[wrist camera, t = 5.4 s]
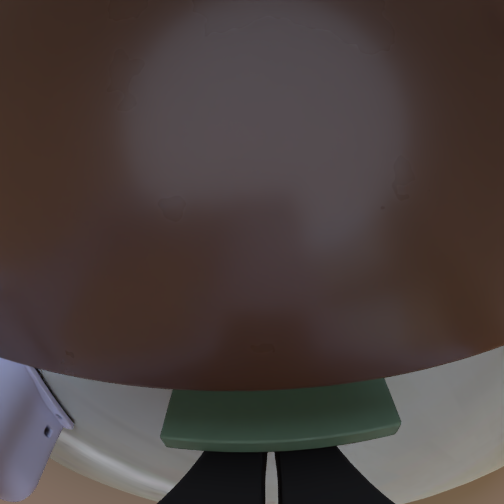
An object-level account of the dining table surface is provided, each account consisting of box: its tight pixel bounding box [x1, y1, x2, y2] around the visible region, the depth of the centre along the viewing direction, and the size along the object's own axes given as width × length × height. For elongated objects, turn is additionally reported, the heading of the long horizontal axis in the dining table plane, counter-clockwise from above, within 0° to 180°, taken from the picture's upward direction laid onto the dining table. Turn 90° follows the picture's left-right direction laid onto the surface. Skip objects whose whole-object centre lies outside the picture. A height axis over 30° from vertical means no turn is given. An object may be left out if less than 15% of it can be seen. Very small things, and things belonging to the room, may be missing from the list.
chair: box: [160, 378, 401, 452], centre depth 6 cm, size 6×5×6 cm
